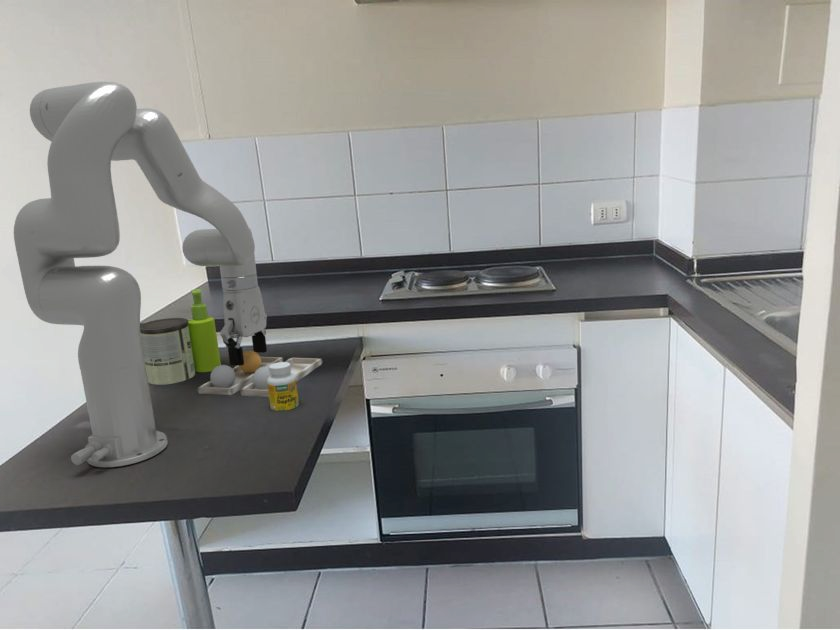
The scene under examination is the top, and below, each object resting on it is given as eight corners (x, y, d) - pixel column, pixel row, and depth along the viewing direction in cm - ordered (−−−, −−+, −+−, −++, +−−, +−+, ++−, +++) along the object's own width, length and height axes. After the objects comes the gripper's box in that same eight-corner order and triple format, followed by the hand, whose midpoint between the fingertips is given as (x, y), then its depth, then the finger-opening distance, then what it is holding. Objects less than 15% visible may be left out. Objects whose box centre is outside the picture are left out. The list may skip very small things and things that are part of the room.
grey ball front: (271, 394, 124) (269, 371, 123) (249, 393, 125) (246, 370, 124) (283, 386, 129) (281, 363, 128) (262, 385, 130) (259, 362, 129)
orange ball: (254, 376, 137) (252, 354, 135) (235, 375, 138) (232, 353, 137) (266, 369, 141) (264, 348, 140) (247, 368, 143) (244, 347, 142)
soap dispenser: (220, 367, 150) (208, 286, 145) (223, 375, 144) (210, 290, 139) (195, 371, 148) (181, 289, 143) (196, 379, 141) (182, 294, 137)
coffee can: (145, 382, 142) (135, 322, 139) (191, 373, 147) (183, 315, 144) (151, 394, 133) (141, 331, 130) (200, 384, 138) (192, 323, 135)
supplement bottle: (293, 405, 122) (288, 358, 120) (304, 413, 117) (298, 365, 115) (267, 412, 119) (261, 364, 117) (276, 420, 114) (271, 371, 112)
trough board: (276, 406, 122) (275, 393, 121) (193, 401, 127) (192, 389, 127) (326, 368, 144) (325, 357, 144) (254, 365, 150) (253, 355, 149)
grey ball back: (228, 392, 127) (225, 369, 126) (207, 391, 128) (203, 368, 127) (241, 384, 131) (238, 362, 130) (220, 383, 133) (217, 361, 132)
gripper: (233, 290, 126) (243, 371, 130) (274, 276, 142) (282, 348, 146) (201, 291, 128) (212, 369, 132) (246, 276, 144) (254, 347, 148)
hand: (249, 358), depth 139 cm, fingers open, 9 cm apart
